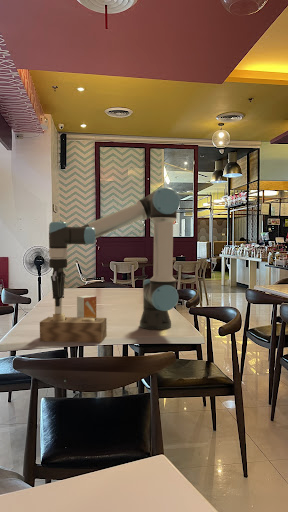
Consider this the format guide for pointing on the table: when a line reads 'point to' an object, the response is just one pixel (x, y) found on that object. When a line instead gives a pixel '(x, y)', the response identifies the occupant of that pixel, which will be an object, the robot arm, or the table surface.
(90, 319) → the peg
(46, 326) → the socket block
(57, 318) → the peg
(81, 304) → the small box
